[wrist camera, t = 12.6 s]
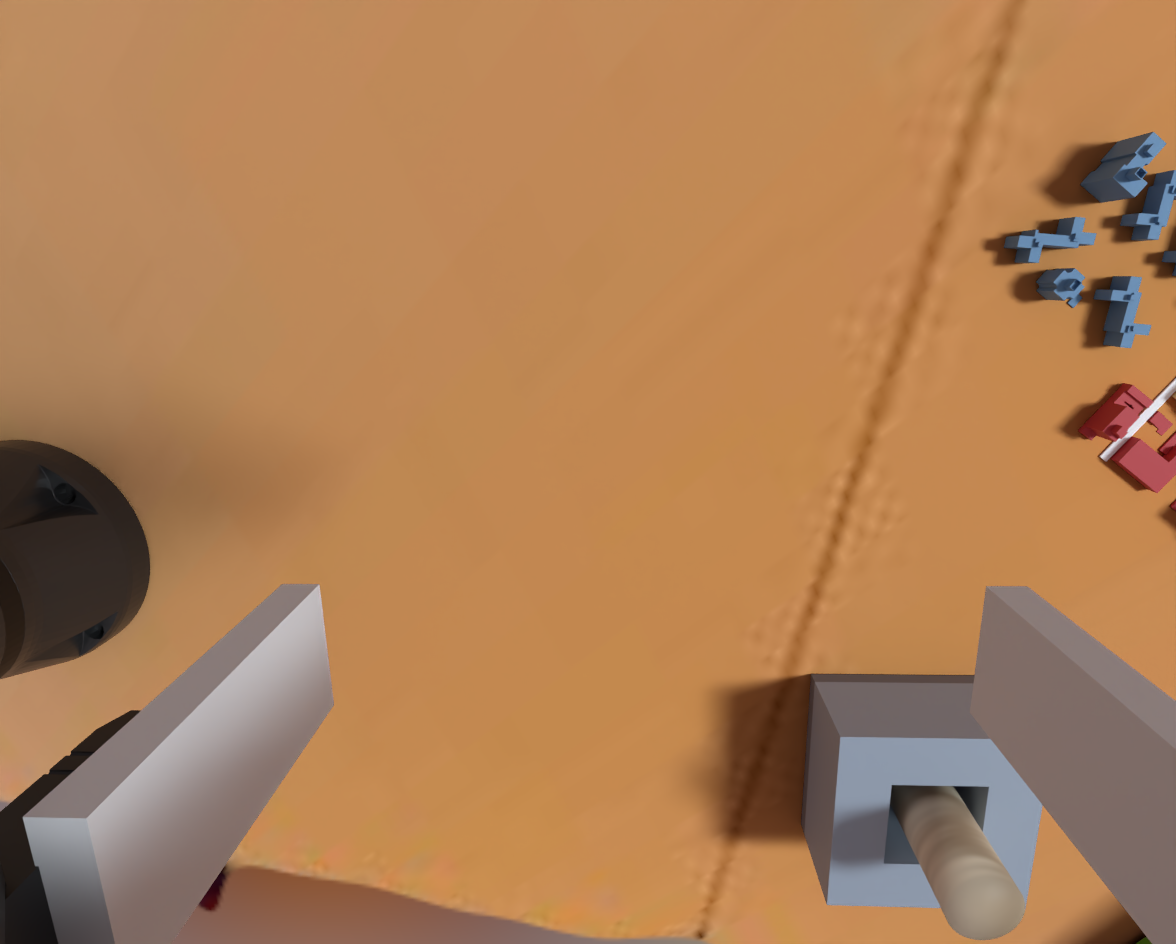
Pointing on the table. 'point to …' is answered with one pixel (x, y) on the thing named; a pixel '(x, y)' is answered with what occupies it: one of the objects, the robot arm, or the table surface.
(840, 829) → the socket block
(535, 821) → the table surface
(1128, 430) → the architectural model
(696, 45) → the table surface
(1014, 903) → the peg
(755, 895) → the table surface
